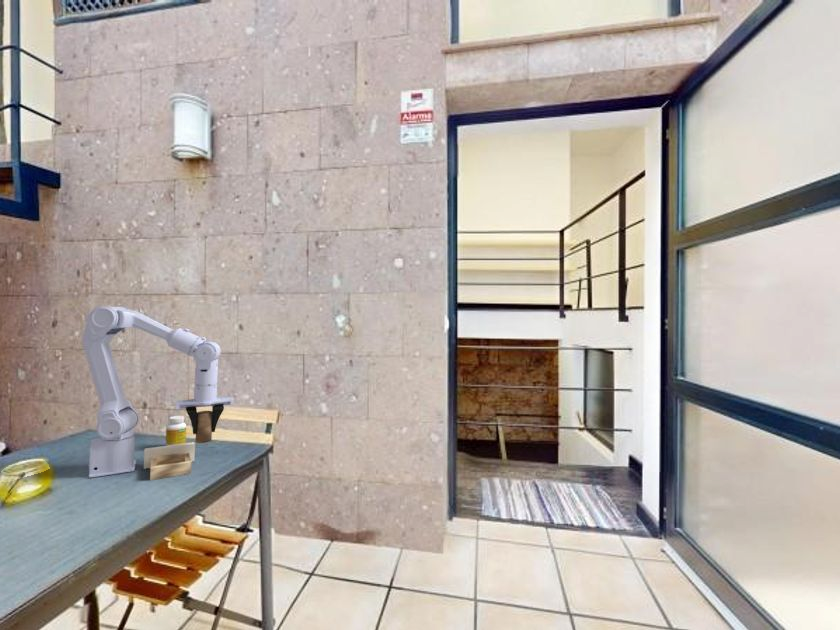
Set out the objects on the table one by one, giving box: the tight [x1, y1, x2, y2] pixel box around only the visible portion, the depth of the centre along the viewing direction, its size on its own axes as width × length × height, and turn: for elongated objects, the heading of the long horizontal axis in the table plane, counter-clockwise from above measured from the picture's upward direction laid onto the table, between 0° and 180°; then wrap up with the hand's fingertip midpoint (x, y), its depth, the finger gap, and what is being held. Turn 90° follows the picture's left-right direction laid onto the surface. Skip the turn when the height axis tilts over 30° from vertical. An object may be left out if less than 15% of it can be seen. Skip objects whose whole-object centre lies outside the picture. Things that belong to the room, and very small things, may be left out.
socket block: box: [149, 452, 192, 481], centre depth 107 cm, size 9×9×3 cm
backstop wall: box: [143, 441, 196, 470], centre depth 112 cm, size 12×2×5 cm, turn 124°
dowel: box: [195, 410, 213, 444], centre depth 112 cm, size 4×4×8 cm
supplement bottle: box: [165, 415, 187, 446], centre depth 124 cm, size 5×5×10 cm
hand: (203, 432), depth 112 cm, fingers closed on dowel, 4 cm apart
